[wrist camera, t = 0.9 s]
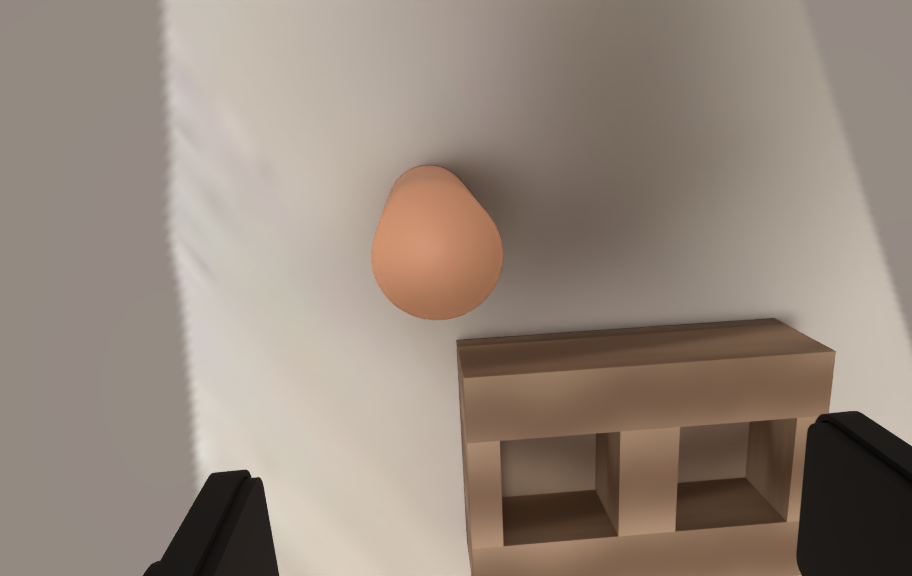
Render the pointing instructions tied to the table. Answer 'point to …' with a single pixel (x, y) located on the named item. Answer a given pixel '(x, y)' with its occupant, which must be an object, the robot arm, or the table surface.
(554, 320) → the table surface
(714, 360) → the socket block
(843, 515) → the robot arm
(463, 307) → the pin
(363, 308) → the table surface
